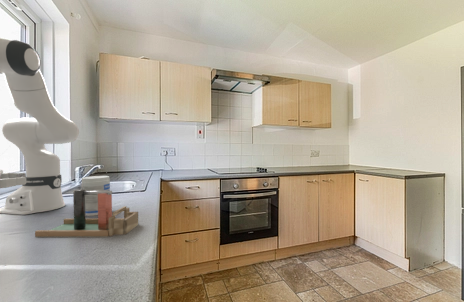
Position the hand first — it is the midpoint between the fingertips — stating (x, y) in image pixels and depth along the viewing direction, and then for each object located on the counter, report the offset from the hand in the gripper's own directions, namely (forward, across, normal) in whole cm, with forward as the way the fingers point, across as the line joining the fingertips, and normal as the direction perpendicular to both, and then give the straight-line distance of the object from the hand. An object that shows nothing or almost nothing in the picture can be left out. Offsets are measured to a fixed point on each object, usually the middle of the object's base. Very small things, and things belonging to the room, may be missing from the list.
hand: (26, 178), depth 58 cm
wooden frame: (+22, -11, +18) cm, 30 cm away
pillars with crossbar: (+15, -4, +17) cm, 23 cm away
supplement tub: (+20, +16, +19) cm, 32 cm away
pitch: (+13, -2, +18) cm, 22 cm away
